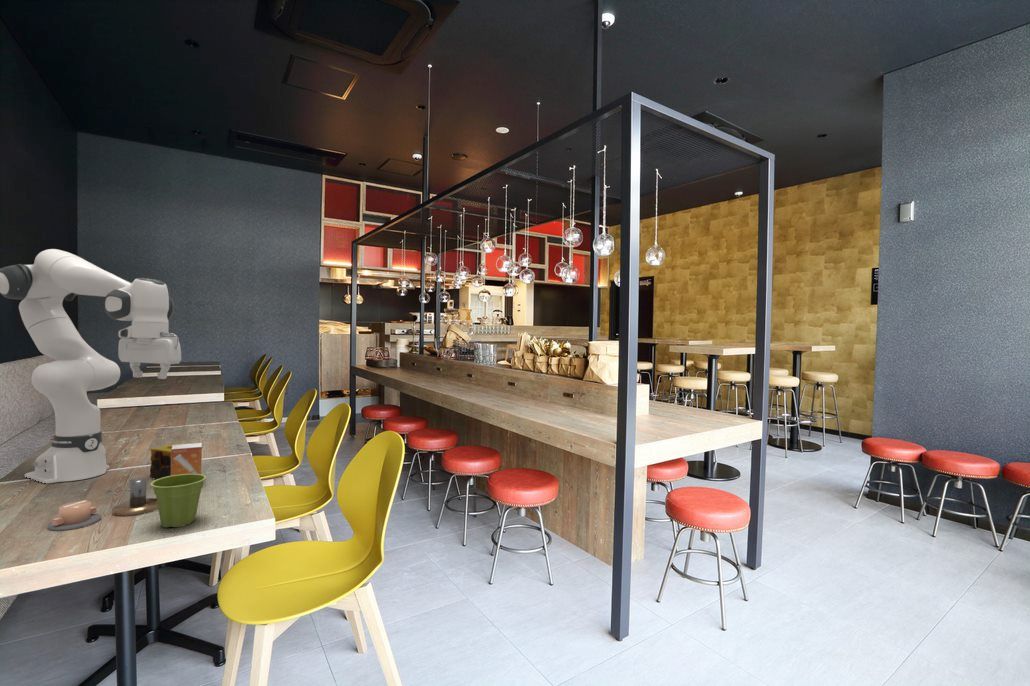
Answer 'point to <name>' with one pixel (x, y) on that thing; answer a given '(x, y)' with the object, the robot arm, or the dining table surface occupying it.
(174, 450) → the small box
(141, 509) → the brown wide round part
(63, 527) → the pad
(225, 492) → the dining table surface
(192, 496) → the plant pot
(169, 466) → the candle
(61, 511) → the cap
